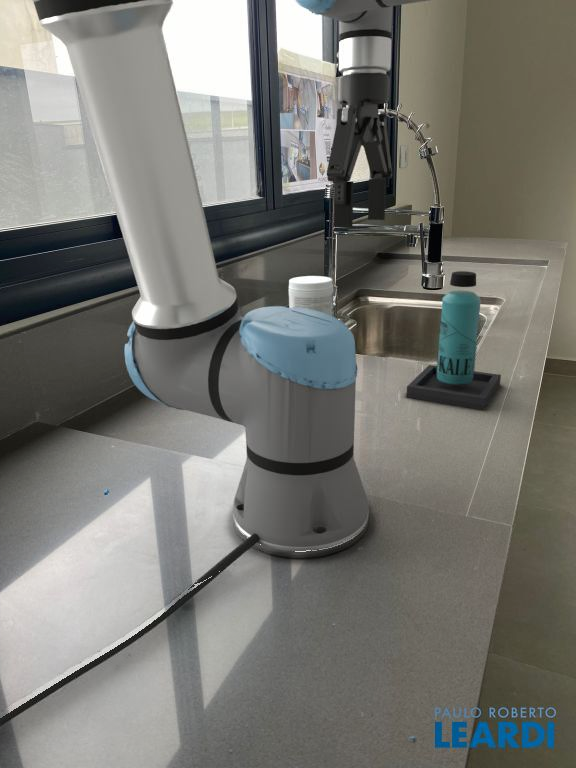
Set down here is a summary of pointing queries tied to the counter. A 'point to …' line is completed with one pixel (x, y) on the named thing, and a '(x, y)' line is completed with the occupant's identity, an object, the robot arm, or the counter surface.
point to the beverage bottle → (458, 331)
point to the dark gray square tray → (454, 389)
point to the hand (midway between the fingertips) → (360, 223)
